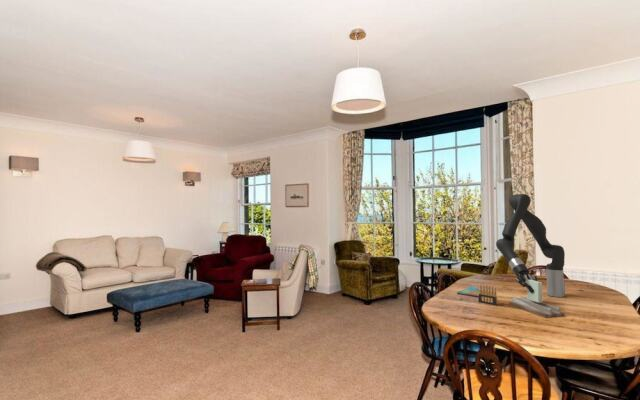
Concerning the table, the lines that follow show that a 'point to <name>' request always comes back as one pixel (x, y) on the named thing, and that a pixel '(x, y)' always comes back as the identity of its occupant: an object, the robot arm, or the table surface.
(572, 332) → the table surface
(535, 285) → the door panel
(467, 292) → the dish towel
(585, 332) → the table surface
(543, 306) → the board
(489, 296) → the ammunition clip
